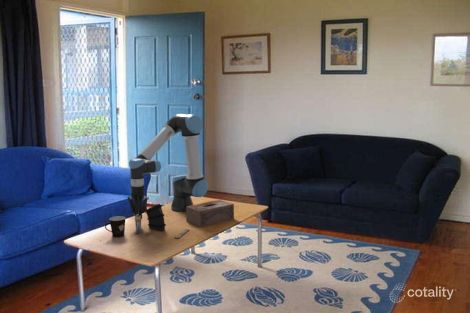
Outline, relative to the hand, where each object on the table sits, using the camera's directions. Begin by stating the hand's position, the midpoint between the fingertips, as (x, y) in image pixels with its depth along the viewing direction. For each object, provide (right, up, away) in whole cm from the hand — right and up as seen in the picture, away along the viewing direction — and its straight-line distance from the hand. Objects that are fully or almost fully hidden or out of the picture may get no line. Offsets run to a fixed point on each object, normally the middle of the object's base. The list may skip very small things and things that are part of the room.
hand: (139, 224), depth 282 cm
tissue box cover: (+42, 0, +13) cm, 44 cm away
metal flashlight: (+2, -3, -10) cm, 11 cm away
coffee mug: (-10, -4, -15) cm, 19 cm away
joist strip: (+27, -4, -14) cm, 30 cm away
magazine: (+10, -2, -3) cm, 11 cm away
